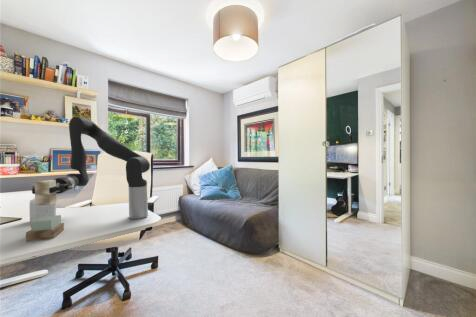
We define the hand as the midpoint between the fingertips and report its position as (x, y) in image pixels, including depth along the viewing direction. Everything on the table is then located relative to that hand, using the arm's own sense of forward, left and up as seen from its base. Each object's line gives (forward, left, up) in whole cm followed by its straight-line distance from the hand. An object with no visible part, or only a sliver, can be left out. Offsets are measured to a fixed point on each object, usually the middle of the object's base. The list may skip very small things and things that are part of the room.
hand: (42, 191), depth 85 cm
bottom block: (0, -2, -20) cm, 20 cm away
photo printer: (+13, -27, -20) cm, 36 cm away
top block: (0, -2, -16) cm, 16 cm away
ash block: (0, -3, -6) cm, 7 cm away
